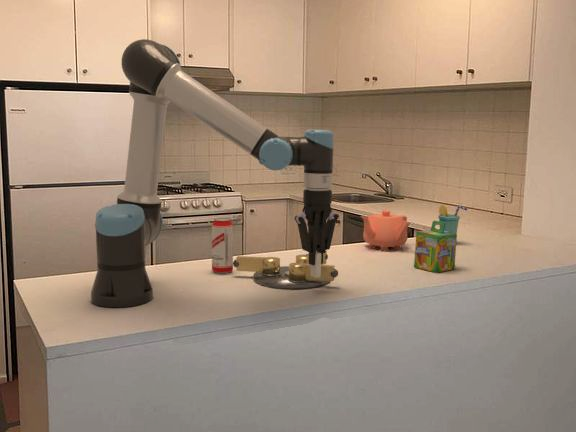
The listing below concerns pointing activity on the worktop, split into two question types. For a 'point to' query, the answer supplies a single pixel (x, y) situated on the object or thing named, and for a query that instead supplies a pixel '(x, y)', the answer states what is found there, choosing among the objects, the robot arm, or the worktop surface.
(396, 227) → the teapot
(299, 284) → the levelling base
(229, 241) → the beer can
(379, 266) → the worktop surface
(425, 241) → the chalk box
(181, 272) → the worktop surface
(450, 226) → the cup
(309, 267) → the knob
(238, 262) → the knob
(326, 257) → the knob
